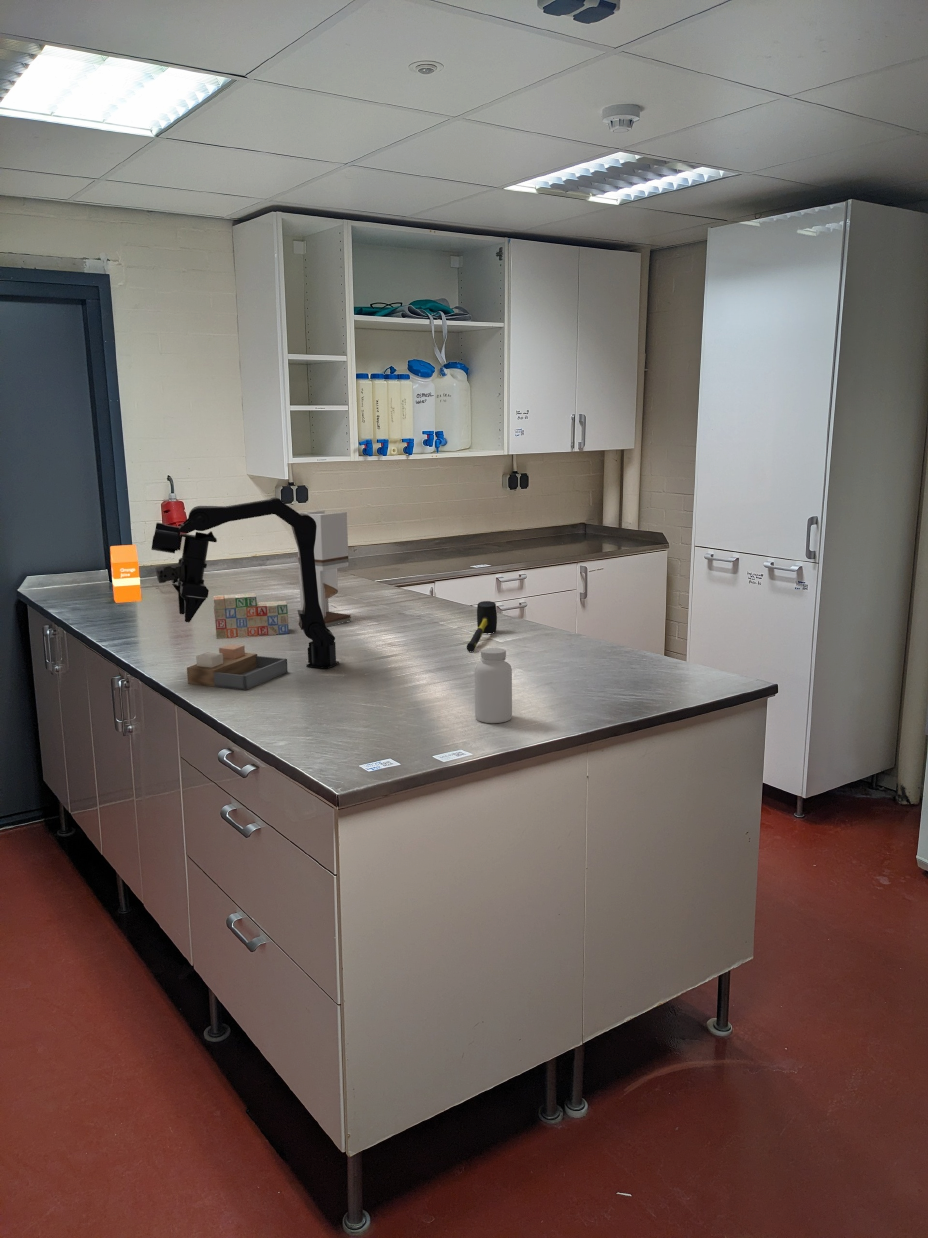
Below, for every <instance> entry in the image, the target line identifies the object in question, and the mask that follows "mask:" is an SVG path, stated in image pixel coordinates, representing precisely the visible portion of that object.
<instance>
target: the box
mask: <svg viewBox="0 0 928 1238" xmlns="http://www.w3.org/2000/svg"><path fill="white" fill-rule="evenodd" d="M256 664H257V668H254V669H252V670H249V671H247V672H245V673H242V674H240V675H237V674H228V673H219V672H214V685H215V687H216V688H221V689H222V688H223V689H224V688H225V689H233V690H238V691H239V690H241V691H247V690H250V689H252V688H254V687H256V686H259V685H261V684H264V683H266V682H268V681H270V680H273V679H274V678H277V677H281V676H282V675H284V674H287V673H289V672H288V670H289V669H288V658H282V657H275V656H274V657H273V656H264V655H263V656H262V655H257V656H256ZM215 687H214V688H215Z"/></svg>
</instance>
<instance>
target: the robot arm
mask: <svg viewBox="0 0 928 1238" xmlns="http://www.w3.org/2000/svg"><path fill="white" fill-rule="evenodd" d="M299 513H300V514H299ZM270 515H271V516H272V515H275V516H276V517H278V518H280V519H281V520H283V521H284V522H285V523H286V524H288V525H290V527H291V530H292V534H293V537H294V540H295V543H296V546H297V551H298V550H299V560H300V570H301V580H302V590H303V600H304V604H303V610H301V609H297V615H298V620H299V621H298V626H299V628H300V630H301V631H303V633H304V635H305V636H306V638H308V639H310V640H311V641H309V642H308V647H307V662H308V663H307V664H306V667H307V668H315V669H316V668H317V669H330V668H332V667H334V666H337V665H338V664H340V661H338V660H337V652H336V651H337V650H336V648H337V647H336V641H335V640H336V637H335V636H334V634H333V633H332V631H331V629H329V628H328V627H326V625H325V621H324V618H323V614H322V611H321V608H320V605H319V599H318V589H317V578H316V568H315V557H314V546H315V540H316V528H317V525H316V522H315V520H314V519H313V518H312V517H310V516H309V515H308V514H305V513H303V512H298V511H296V510H295V509H293V508H292V507H290V506H289V505H287V504H286V503H284V502H283V500H282V499H280V497H279V498H278V497H271V498H268V499H263V500H256V501H250V502H245V503H238V504H232V505H225V506H223V505H221V506H218V505H197V506H194V507H193V508H191V509H190V511H189V513H188V518H187V519H186V520H185V521H184V522H183V523H182V522H181V523H180V525H179V526H176V525H170V524H165V523H162V522H156V524H155V529H154V534H153V536H152V542H151V550H152V551H157V552H162V553H163V552H164V553H168V554H176V552H178V551H180V550H181V548H182V543H183V549H182V555H181V557H180V558H179V559H178V562H177V563H174V564H169V565H168V564H167V565H163V566H158V567H155V568H154V569H155V574H156V579H157V582H158V583H160V584H164V583H167V582H169V581H170V582H171V583H172V587H173V588H175V589H174V590H176V591H177V598H178V613H179V615H184V622H186V623H190V622H191V621H192V619H193V618H194V616H195V615H196V614H197V612H198V611H199V609H200V607H201V606H202V605H203V603H204V602H205V601H206V600H207V598H208V597H209V591H210V590H209V589H208V587H207V586H206V585H205V579H204V575H205V569H207V566H208V565H207V555H208V548H209V542H212V543H217V542H218V539H217V537H216V536H215V535H214V533H213V531H211V530H210V529H213V528H216V527H219V526H221V525H224V524H226V523H229V522H235V521H239V520H246V519H252V518H259V517H264V516H270ZM207 530H210V531H209V532H208V533H204V531H207ZM194 531H196V532H195V534H189V533H191V532H194ZM183 538H184V542H183V541H182V539H183Z"/></svg>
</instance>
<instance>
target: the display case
mask: <svg viewBox="0 0 928 1238" xmlns="http://www.w3.org/2000/svg"><path fill="white" fill-rule="evenodd" d="M298 513H299V514H300V513H301V512H298ZM302 513H305V514H308V515H309V516H310V517H312V518H313V519H314V520H315V522H316V525H317V528H316V540H315V546H314V557H315V568H316V578H317V589H318V599H319V605H320V608H321V611H322V614H323V618H324V621H325V625H326V627H327V626H329V627H332V626H331V625H333V626H336V625H335V624H337V625H339V624H338V623H341V624H343V623H342V622H346V623H348V622H347V621H350V622H351V621H352V620H351V615H350V614H346V613H342V612H341V613H340V612H335V611H334V612H333V611H330V610H329V608H330V606H329V598H332V597H333V596H335V595H337V594H338V593H339V583H338V582H339V581H338V580H339V579H338V569H342V568H347V567H349V565H350V564H349V563H350V562H349V541H348V540H349V537H348V535H349V534H348V512H347V511H340V512H332V513H331V512H330V513H326V511H325V510H315V511H314V510H313V511H305V512H302ZM297 557H298V558H297V560H298V576H299V577H298V578H299V581H298V583H299V603H300V605H299V606H300V610H303V604H304V600H303V590H302V580H301V570H300V560H299V550H298V549H297ZM327 628H328V627H327Z"/></svg>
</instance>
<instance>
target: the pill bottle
mask: <svg viewBox="0 0 928 1238" xmlns="http://www.w3.org/2000/svg"><path fill="white" fill-rule="evenodd" d="M506 658H507V651H506V649H504V648H502V647H486V648H483V649H481V650H480V661H479V662H477V663H476V665H475V667H474V671H473V672H474V716H475V720H477V721H478V722H480V723H487V724H500V723H505V722H509V721H510V720H511V719H512V716H513V668H512V666H511V664H510V663H509V662H508V661H505V660H506Z"/></svg>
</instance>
